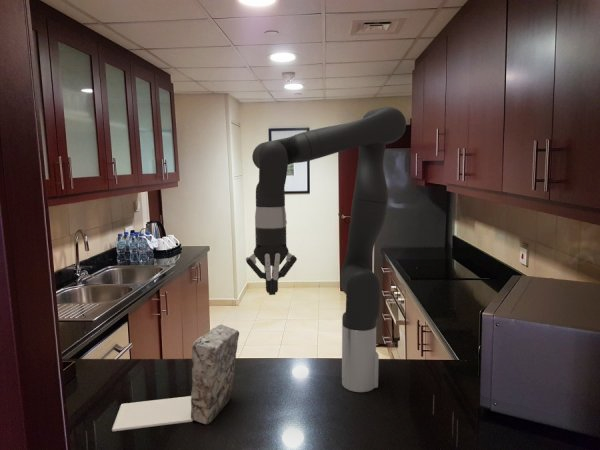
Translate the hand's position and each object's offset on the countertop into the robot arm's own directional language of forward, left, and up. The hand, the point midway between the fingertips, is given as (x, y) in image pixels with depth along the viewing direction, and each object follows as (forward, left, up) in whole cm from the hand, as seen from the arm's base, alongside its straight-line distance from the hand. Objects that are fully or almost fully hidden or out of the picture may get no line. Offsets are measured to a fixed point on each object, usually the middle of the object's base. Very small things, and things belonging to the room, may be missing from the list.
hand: (271, 294), depth 106 cm
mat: (+29, -1, -29) cm, 41 cm away
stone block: (+16, 0, -29) cm, 33 cm away
